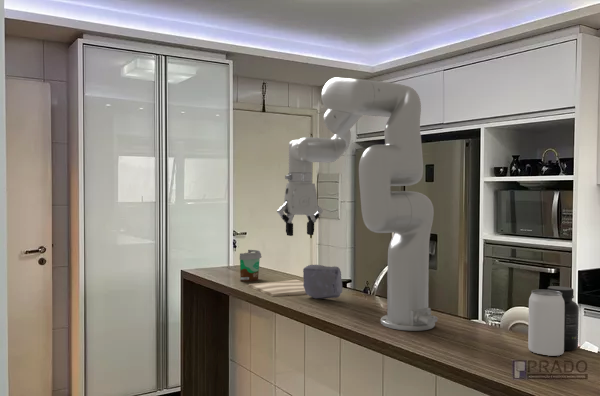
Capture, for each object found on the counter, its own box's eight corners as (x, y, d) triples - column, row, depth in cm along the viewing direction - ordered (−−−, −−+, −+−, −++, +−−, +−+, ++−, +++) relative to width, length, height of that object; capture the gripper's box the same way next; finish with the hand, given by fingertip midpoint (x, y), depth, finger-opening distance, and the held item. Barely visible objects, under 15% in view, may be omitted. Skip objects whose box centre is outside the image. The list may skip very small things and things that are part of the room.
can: (568, 351, 106) (568, 292, 106) (558, 359, 101) (559, 296, 101) (534, 345, 110) (535, 287, 110) (523, 352, 106) (524, 292, 105)
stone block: (301, 298, 156) (301, 264, 156) (310, 296, 160) (310, 263, 160) (335, 304, 149) (335, 268, 149) (344, 301, 153) (344, 266, 152)
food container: (256, 283, 181) (257, 254, 181) (239, 282, 182) (239, 253, 182) (264, 277, 193) (265, 249, 193) (248, 276, 194) (248, 249, 194)
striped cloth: (324, 292, 165) (324, 288, 165) (272, 297, 157) (272, 293, 157) (297, 283, 181) (297, 279, 181) (248, 287, 173) (248, 284, 173)
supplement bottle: (575, 342, 112) (576, 286, 112) (580, 352, 106) (581, 292, 106) (540, 339, 115) (541, 284, 115) (542, 348, 108) (543, 289, 108)
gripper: (281, 178, 161) (280, 237, 161) (330, 179, 169) (329, 235, 170) (270, 178, 168) (270, 235, 168) (318, 179, 176) (317, 233, 176)
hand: (300, 234), depth 169 cm, fingers open, 6 cm apart
